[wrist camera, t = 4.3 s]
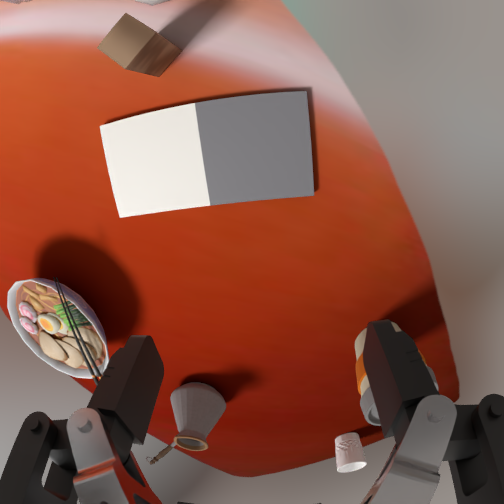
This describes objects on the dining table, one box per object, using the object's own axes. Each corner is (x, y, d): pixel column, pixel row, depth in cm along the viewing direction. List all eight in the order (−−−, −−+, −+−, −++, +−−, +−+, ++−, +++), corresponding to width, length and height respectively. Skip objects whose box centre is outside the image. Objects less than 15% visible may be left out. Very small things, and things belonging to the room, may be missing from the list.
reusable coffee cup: (331, 343, 49) (347, 414, 36) (389, 300, 44) (424, 367, 31) (367, 370, 53) (385, 432, 39) (418, 334, 48) (448, 394, 35)
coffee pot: (194, 368, 53) (181, 435, 39) (238, 394, 56) (234, 457, 43) (141, 401, 60) (126, 454, 47) (180, 422, 64) (170, 473, 50)
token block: (158, 77, 30) (125, 69, 21) (135, 59, 29) (96, 47, 20) (182, 50, 29) (155, 32, 20) (158, 33, 27) (125, 12, 18)
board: (122, 215, 39) (119, 217, 38) (103, 125, 33) (99, 126, 32) (312, 193, 37) (314, 195, 36) (305, 91, 31) (306, 91, 30)
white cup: (331, 445, 69) (335, 474, 60) (334, 433, 65) (339, 465, 56) (357, 440, 68) (363, 469, 59) (362, 429, 65) (369, 459, 56)
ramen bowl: (12, 249, 42) (-14, 271, 35) (105, 253, 42) (81, 282, 34) (51, 346, 53) (35, 371, 46) (136, 364, 53) (124, 395, 46)
